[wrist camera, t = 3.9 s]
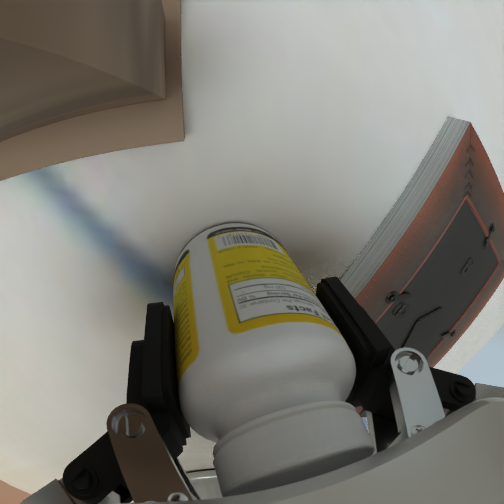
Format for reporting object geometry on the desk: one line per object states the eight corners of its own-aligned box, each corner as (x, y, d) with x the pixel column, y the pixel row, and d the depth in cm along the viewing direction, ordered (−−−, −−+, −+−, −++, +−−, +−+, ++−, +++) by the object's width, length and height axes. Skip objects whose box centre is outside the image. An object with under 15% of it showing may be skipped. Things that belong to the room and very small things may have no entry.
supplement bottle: (216, 332, 15) (257, 511, 7) (150, 263, 12) (137, 494, 4) (303, 281, 15) (405, 448, 6) (253, 195, 12) (392, 400, 4)
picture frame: (372, 399, 26) (505, 237, 19) (382, 416, 24) (522, 249, 17) (242, 383, 19) (441, 115, 12) (250, 412, 17) (473, 122, 10)
